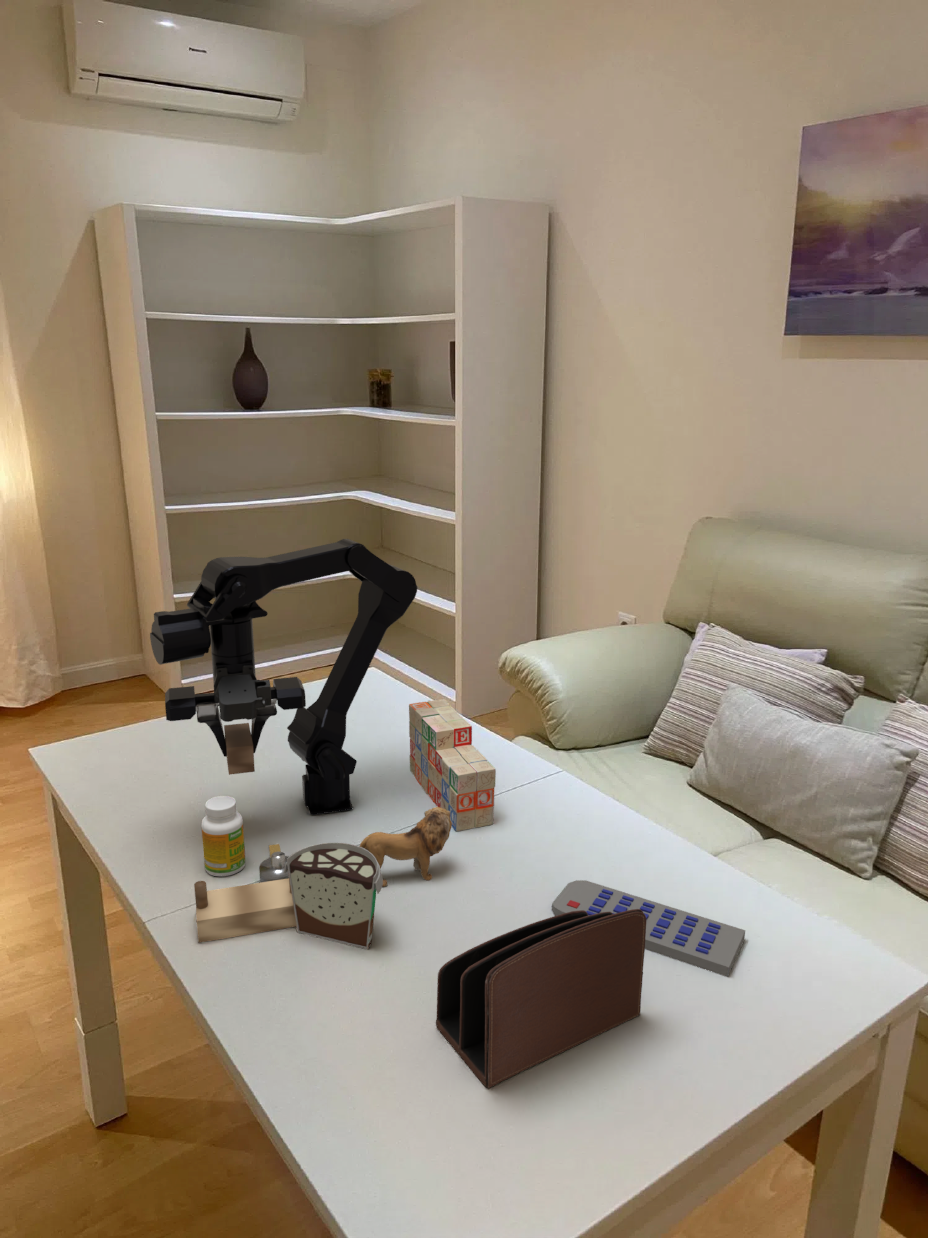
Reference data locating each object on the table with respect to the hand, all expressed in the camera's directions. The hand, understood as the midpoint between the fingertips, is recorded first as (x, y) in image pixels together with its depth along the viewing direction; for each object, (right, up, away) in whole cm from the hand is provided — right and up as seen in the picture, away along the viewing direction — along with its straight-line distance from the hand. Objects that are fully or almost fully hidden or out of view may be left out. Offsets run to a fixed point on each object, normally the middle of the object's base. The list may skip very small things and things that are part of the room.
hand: (239, 754), depth 130 cm
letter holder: (+40, -24, -33) cm, 57 cm away
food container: (+17, -19, -18) cm, 31 cm away
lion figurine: (+24, -15, -7) cm, 29 cm away
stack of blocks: (+30, -9, +14) cm, 34 cm away
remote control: (+55, -19, -17) cm, 61 cm away
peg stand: (+6, -18, -17) cm, 25 cm away
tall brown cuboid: (0, -1, 0) cm, 1 cm away
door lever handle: (+7, -15, -7) cm, 18 cm away
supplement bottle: (0, -15, -6) cm, 16 cm away
